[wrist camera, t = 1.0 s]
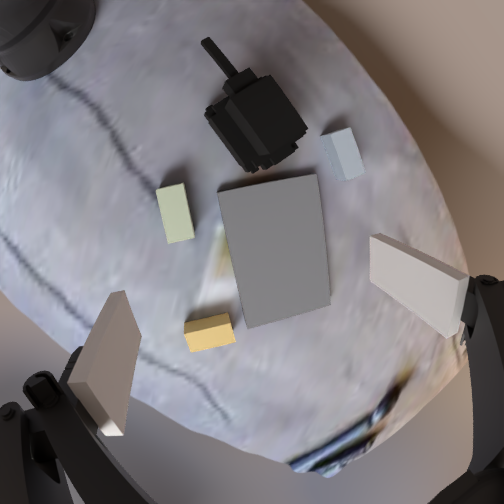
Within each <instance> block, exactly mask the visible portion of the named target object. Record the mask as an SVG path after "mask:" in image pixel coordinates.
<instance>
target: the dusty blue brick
mask: <svg viewBox="0 0 504 504" xmlns="http://www.w3.org/2000/svg"><path fill="white" fill-rule="evenodd" d="M320 137H321V139H322V142H323V144H324V147H325V150H326V152H327V155H328V158H329V161H330V163H331V166H332V169H333V172H334V175H335V178H336V180H342V181H349V180H351V179H353V178H355V177H358V176H360V175H362V174H365V173H366V172H365V169H364V165H363V162H362V159H361V156H360V153H359V150H358V147H357V145H356V142H355V139H354V136H353V133H352V131H351V128H350V127H349V128H344V129H339V130H336V131H334V132H331V133H328V134H325V135H322V136H320Z"/></svg>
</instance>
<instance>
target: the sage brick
mask: <svg viewBox="0 0 504 504" xmlns="http://www.w3.org/2000/svg"><path fill="white" fill-rule="evenodd" d="M156 193H157V198H158V203H159V207H160V211H161V216H162V220H163V224H164V228H165V233H166V237H167V241H168V244H169V243H174V242H178V241H182V240H187V239H191V238H195V231H194V227H193V222H192V218H191V213H190V208H189V204H188V199H187V194H186V189H185V184H184V182H183V183H179V184H174V185H170V186H166V187H162V188H158V189H157V190H156Z"/></svg>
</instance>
